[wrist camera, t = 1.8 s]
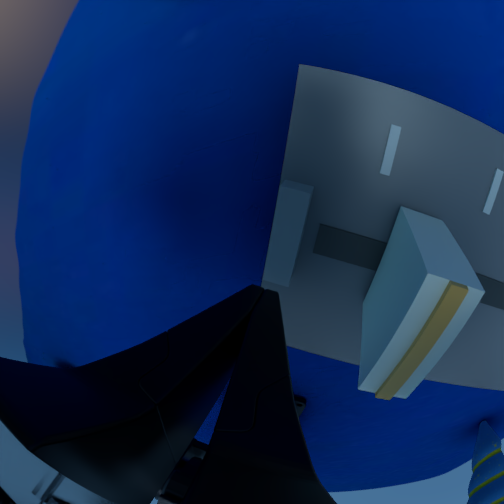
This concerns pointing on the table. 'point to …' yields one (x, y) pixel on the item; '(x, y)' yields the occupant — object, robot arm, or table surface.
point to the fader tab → (414, 305)
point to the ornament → (487, 468)
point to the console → (382, 213)
